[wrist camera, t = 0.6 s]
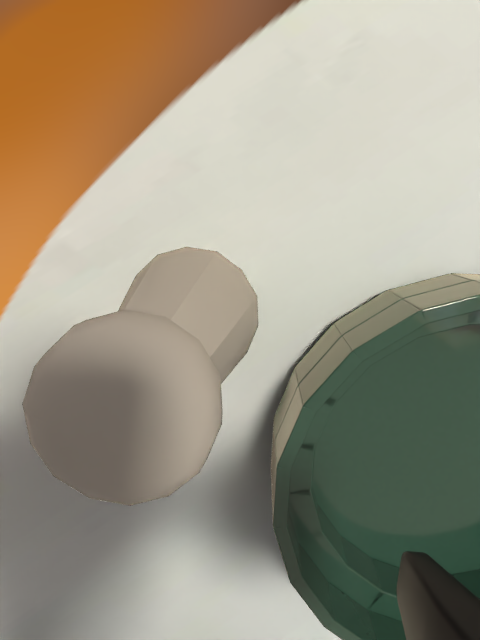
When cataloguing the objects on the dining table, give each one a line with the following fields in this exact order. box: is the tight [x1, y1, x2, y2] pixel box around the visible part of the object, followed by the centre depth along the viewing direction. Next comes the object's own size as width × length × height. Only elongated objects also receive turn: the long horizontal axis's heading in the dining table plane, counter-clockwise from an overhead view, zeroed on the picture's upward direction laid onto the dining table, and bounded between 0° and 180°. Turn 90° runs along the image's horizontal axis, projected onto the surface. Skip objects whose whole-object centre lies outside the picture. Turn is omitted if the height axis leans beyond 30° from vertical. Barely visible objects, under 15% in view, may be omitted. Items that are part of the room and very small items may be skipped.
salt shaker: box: [22, 247, 258, 506], centre depth 15 cm, size 6×6×13 cm
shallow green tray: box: [271, 273, 480, 640], centre depth 20 cm, size 18×18×5 cm
